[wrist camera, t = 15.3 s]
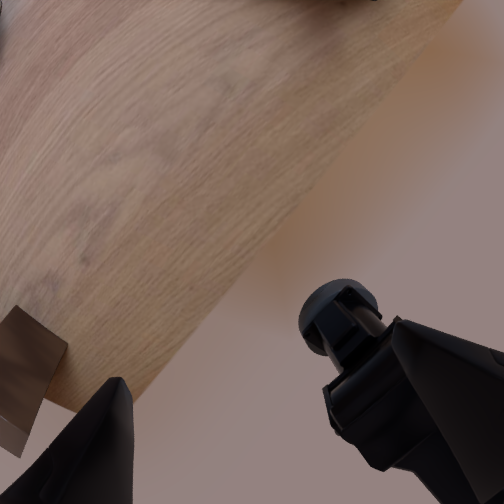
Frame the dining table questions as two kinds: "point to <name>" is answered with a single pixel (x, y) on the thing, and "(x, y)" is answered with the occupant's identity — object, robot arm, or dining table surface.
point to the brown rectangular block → (24, 375)
